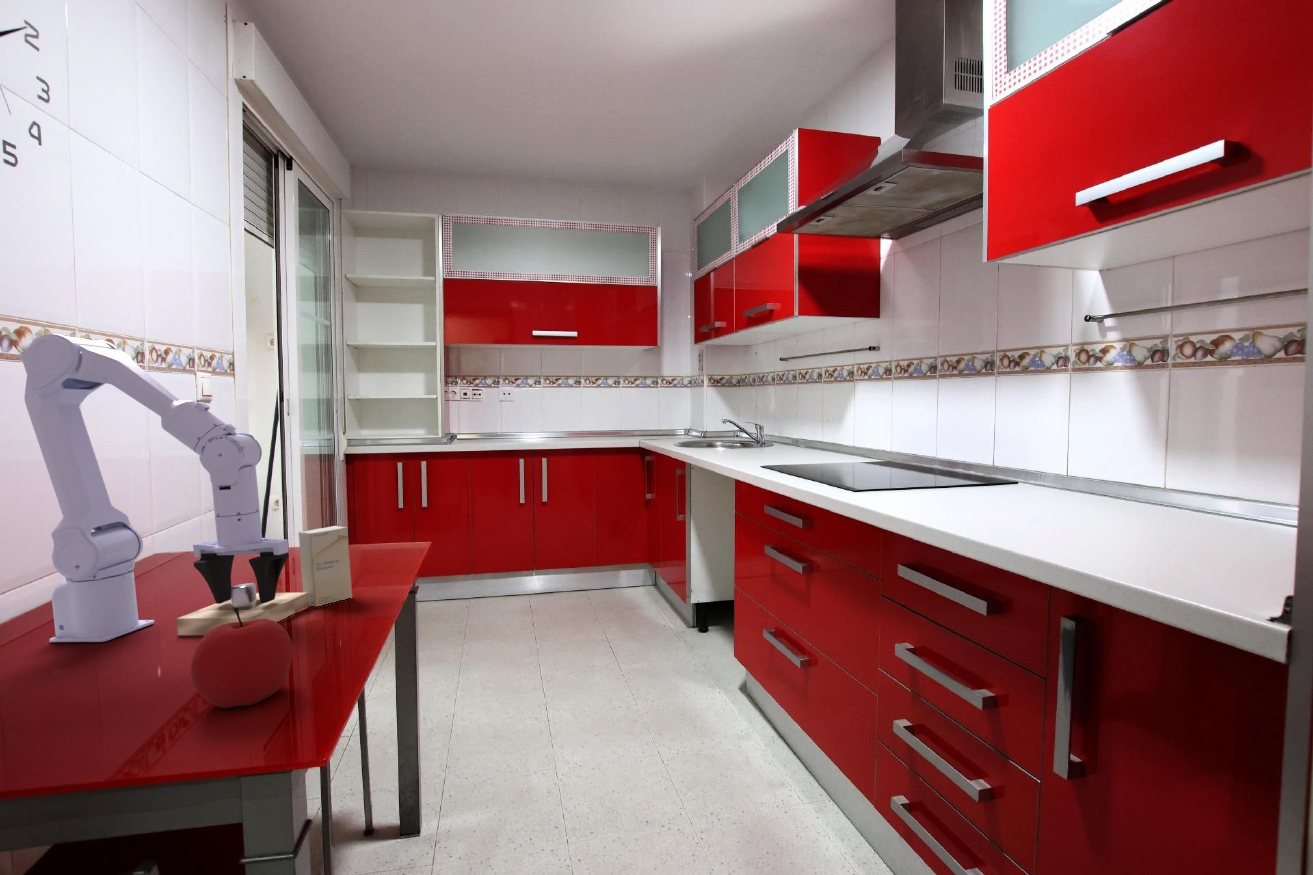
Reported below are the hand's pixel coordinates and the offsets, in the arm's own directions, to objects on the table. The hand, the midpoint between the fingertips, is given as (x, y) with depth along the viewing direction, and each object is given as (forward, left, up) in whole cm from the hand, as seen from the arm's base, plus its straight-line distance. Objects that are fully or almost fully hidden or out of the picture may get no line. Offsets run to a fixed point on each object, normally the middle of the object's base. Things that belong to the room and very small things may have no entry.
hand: (245, 601), depth 96 cm
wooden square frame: (0, 0, -3) cm, 3 cm away
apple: (+22, -25, -3) cm, 33 cm away
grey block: (0, 0, -3) cm, 3 cm away
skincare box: (+7, +9, -3) cm, 12 cm away
